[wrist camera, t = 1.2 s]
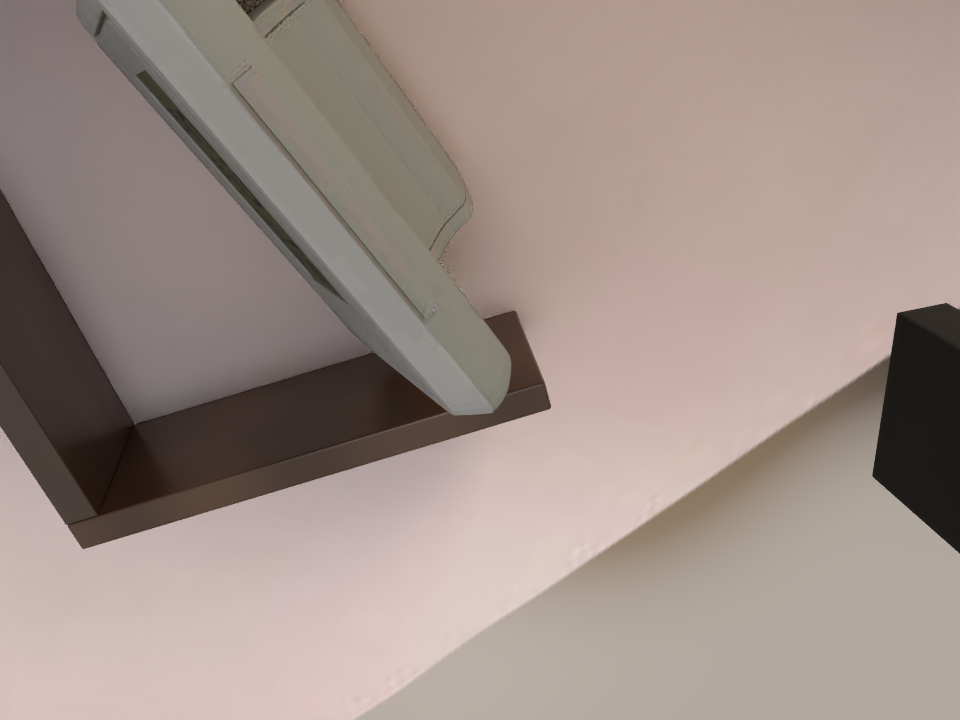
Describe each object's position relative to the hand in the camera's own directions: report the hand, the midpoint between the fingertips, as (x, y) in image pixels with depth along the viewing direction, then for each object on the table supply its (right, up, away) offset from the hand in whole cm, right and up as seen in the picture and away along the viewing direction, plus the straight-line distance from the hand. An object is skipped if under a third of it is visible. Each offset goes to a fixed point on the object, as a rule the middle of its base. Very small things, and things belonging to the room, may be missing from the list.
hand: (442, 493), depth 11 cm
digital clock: (-6, +10, +20) cm, 23 cm away
